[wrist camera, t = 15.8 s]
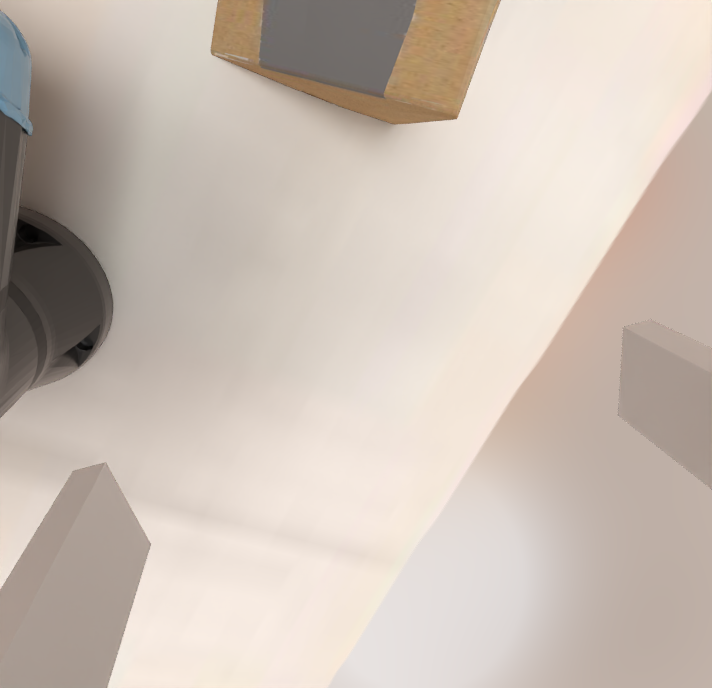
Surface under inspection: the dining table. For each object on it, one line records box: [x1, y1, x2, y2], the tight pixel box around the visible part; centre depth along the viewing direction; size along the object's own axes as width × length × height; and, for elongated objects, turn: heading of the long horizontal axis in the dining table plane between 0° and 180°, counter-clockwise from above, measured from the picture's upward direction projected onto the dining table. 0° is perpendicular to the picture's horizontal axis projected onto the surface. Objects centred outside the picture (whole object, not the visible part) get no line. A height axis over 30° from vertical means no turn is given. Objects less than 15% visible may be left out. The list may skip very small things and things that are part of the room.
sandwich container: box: [211, 0, 501, 124], centre depth 28 cm, size 9×15×15 cm, turn 72°
